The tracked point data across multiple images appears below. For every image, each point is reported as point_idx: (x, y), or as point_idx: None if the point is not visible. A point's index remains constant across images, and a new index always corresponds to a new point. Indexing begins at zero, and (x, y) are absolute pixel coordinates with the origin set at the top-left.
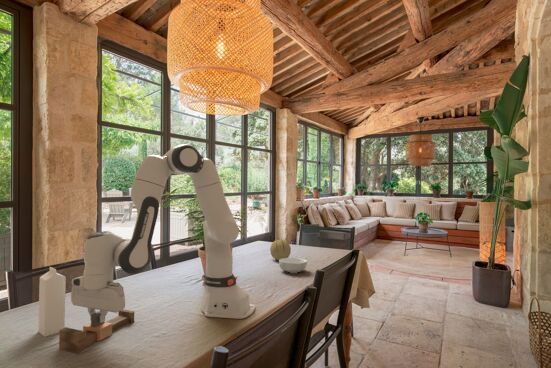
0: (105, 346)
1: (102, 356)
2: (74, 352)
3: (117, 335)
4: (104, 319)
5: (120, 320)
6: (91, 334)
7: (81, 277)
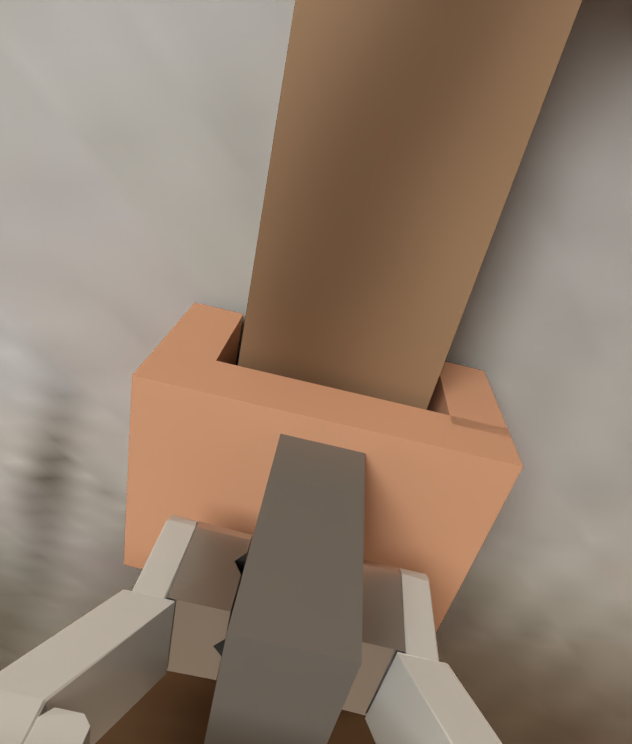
0: (533, 577)
1: (584, 692)
2: None
3: (564, 365)
4: (427, 609)
5: (529, 99)
6: None
7: None
